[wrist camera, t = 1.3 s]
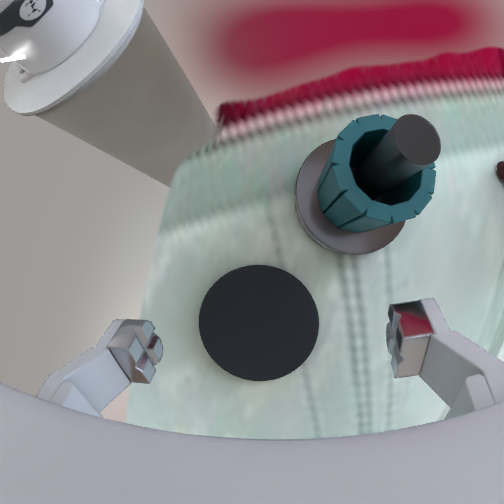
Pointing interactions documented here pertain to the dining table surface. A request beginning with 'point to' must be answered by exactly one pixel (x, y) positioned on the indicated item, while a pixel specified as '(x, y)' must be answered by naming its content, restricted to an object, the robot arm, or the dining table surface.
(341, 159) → the teal ribbed hollow cylinder
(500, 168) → the icecream
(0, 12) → the robot arm
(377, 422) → the dining table surface
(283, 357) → the coaster
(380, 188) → the holder
